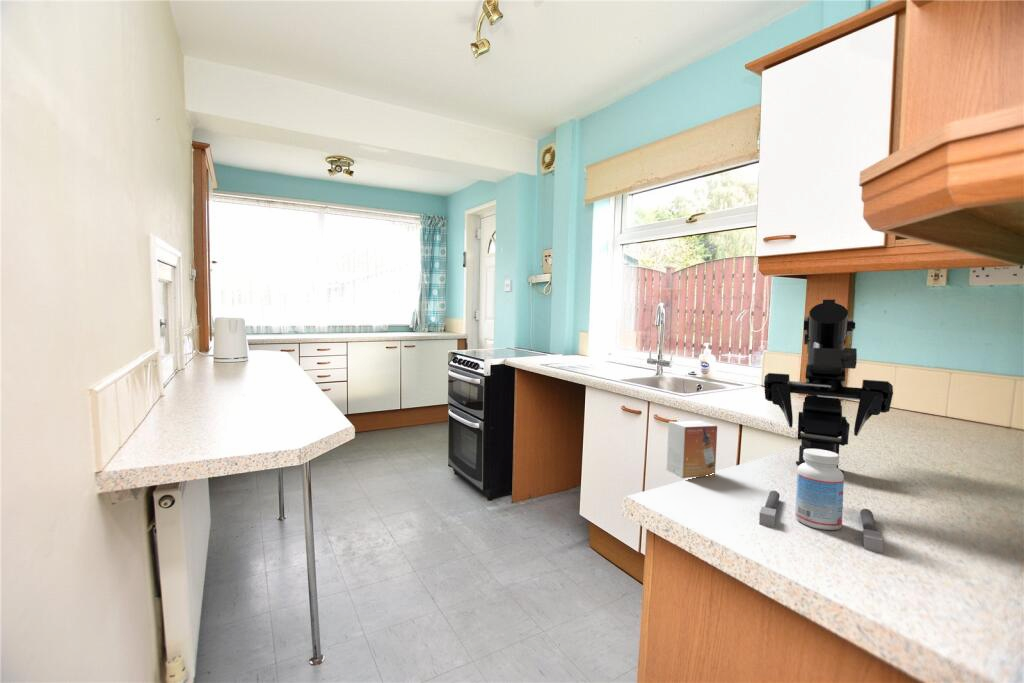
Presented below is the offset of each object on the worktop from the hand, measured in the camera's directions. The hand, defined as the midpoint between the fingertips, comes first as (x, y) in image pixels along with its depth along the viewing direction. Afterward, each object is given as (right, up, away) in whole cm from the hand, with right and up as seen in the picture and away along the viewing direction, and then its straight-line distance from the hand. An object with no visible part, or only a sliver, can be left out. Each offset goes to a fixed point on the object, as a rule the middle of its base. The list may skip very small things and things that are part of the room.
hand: (822, 430), depth 77 cm
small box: (-16, -12, +17) cm, 26 cm away
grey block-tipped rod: (-10, -13, -2) cm, 17 cm away
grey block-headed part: (+1, -14, -9) cm, 17 cm away
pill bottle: (-5, -14, -6) cm, 16 cm away
